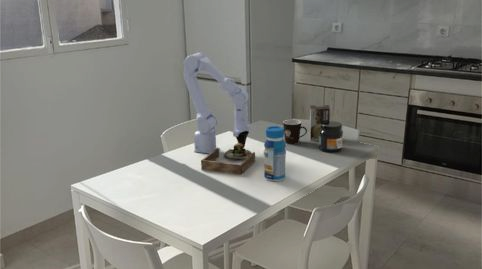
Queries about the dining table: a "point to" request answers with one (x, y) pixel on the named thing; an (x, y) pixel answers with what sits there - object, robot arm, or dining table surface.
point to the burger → (238, 152)
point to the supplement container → (330, 136)
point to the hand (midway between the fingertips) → (241, 147)
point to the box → (225, 164)
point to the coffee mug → (292, 131)
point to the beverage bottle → (274, 154)
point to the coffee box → (318, 119)
